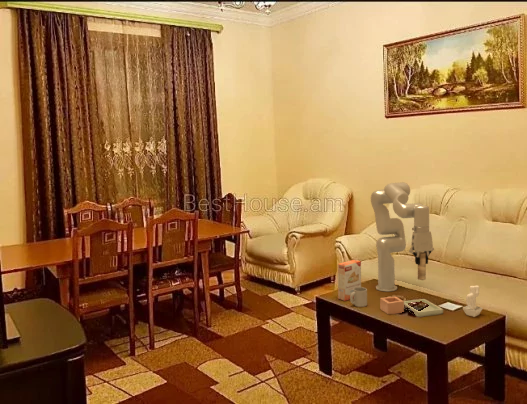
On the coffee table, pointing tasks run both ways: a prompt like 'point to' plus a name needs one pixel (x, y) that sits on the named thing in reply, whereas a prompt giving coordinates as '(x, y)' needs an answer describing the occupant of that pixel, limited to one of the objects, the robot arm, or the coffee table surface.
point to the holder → (391, 305)
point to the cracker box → (348, 278)
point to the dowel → (422, 266)
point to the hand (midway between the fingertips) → (421, 263)
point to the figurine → (472, 302)
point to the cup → (359, 297)
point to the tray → (427, 311)
